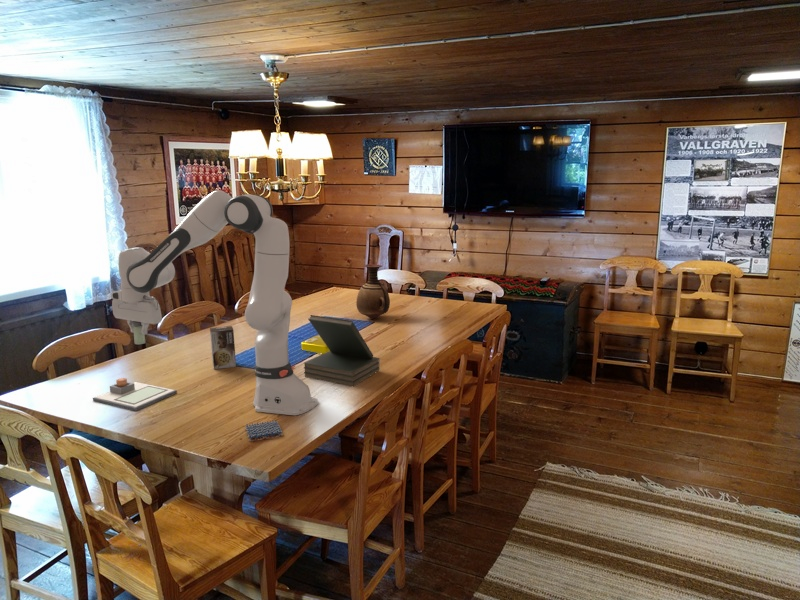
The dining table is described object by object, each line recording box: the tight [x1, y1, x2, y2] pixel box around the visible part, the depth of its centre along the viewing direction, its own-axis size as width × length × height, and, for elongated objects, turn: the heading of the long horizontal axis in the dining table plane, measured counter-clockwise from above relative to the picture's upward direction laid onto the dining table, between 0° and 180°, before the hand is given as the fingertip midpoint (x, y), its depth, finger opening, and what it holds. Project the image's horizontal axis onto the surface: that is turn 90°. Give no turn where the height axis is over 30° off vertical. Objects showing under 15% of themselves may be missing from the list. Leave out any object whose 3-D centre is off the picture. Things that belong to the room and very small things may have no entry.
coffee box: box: [209, 325, 237, 370], centre depth 237 cm, size 9×6×16 cm
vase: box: [356, 263, 391, 319], centre depth 313 cm, size 21×18×30 cm
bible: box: [303, 314, 380, 387], centre depth 226 cm, size 23×20×25 cm
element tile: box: [300, 334, 330, 355], centre depth 262 cm, size 15×15×5 cm
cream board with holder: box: [92, 381, 178, 412], centre depth 205 cm, size 21×18×4 cm
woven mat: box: [244, 419, 284, 442], centre depth 177 cm, size 10×11×2 cm
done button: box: [115, 377, 128, 387], centre depth 207 cm, size 3×3×2 cm
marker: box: [133, 321, 146, 345], centre depth 201 cm, size 4×4×8 cm
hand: (139, 333), depth 201 cm, fingers closed on marker, 3 cm apart
